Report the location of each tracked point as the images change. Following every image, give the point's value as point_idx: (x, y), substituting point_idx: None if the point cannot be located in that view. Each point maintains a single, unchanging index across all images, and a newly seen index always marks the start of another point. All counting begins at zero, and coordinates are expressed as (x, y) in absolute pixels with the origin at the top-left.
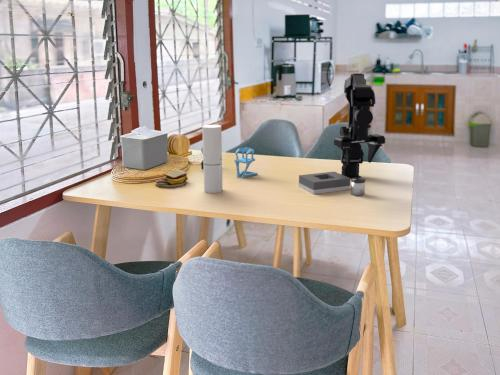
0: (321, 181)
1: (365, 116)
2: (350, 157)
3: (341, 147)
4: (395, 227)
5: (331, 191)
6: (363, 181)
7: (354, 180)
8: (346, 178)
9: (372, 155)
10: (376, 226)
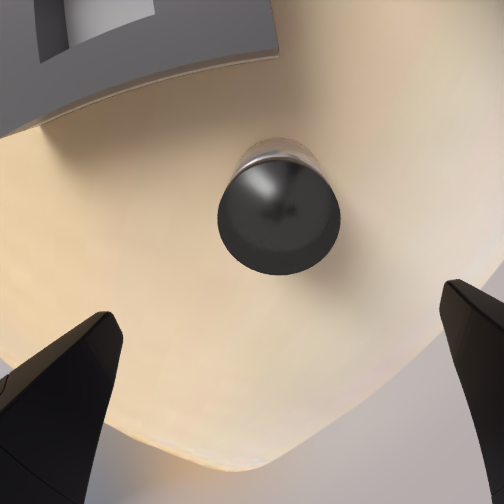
0: (30, 120)
1: None
2: (96, 439)
3: None
4: (234, 464)
5: (134, 88)
6: (299, 267)
7: (227, 247)
8: (238, 47)
9: (473, 419)
10: (193, 453)
